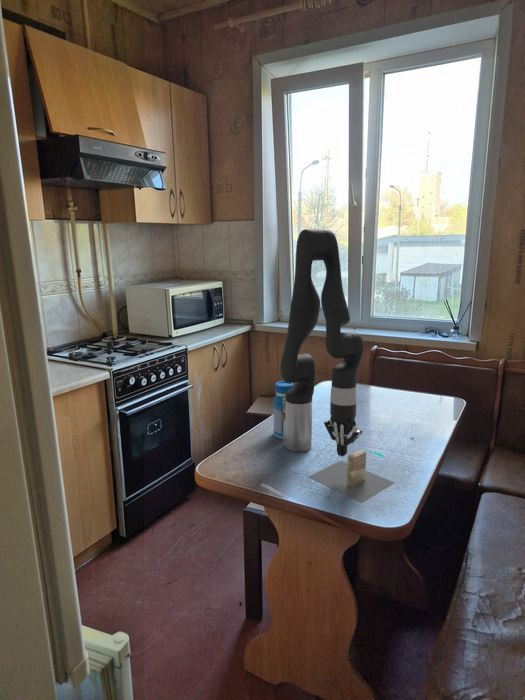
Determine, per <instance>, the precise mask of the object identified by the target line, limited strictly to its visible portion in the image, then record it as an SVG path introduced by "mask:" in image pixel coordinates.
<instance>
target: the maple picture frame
mask: <svg viewBox="0 0 525 700" xmlns="http://www.w3.org/2000/svg"><path fill="white" fill-rule="evenodd" d="M366 461H367V451H365V450H362V449H359V450H357V451H356V452H353V453H352V454H349V455H347V463H348V472H347V485H350V486H352V487H353V486H355V485H357V484H359V483H360V482H362V481H364V480H365V471H366V466H367V464H366V463H367V462H366Z"/></svg>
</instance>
